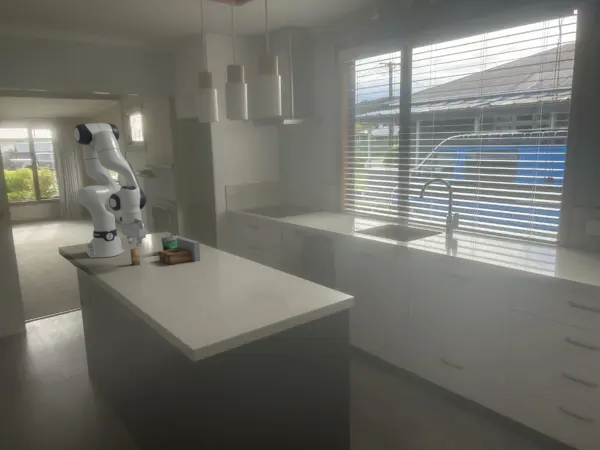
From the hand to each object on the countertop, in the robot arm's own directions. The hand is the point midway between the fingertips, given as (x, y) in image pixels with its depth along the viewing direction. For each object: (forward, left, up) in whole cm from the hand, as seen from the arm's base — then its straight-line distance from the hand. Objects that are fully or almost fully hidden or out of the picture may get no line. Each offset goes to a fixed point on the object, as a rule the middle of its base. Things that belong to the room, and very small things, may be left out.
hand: (135, 245), depth 221 cm
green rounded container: (-9, +25, -10) cm, 28 cm away
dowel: (-1, 0, -10) cm, 10 cm away
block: (+8, +17, -10) cm, 22 cm away
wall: (+8, +25, -10) cm, 28 cm away
